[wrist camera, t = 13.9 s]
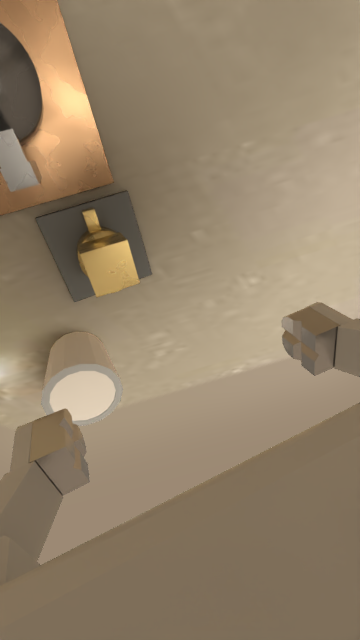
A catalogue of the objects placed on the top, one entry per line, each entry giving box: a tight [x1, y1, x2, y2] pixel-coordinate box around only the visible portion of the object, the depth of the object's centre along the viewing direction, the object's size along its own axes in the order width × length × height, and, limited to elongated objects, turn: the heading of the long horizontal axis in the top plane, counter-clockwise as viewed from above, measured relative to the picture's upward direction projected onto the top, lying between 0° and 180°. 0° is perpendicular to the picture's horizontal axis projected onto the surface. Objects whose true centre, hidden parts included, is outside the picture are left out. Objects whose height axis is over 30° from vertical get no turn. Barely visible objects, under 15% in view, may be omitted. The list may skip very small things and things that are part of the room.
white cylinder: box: [41, 332, 123, 426], centre depth 30 cm, size 7×7×7 cm
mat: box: [36, 191, 152, 302], centre depth 28 cm, size 8×8×1 cm
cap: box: [77, 208, 140, 297], centre depth 26 cm, size 8×4×6 cm, turn 12°
